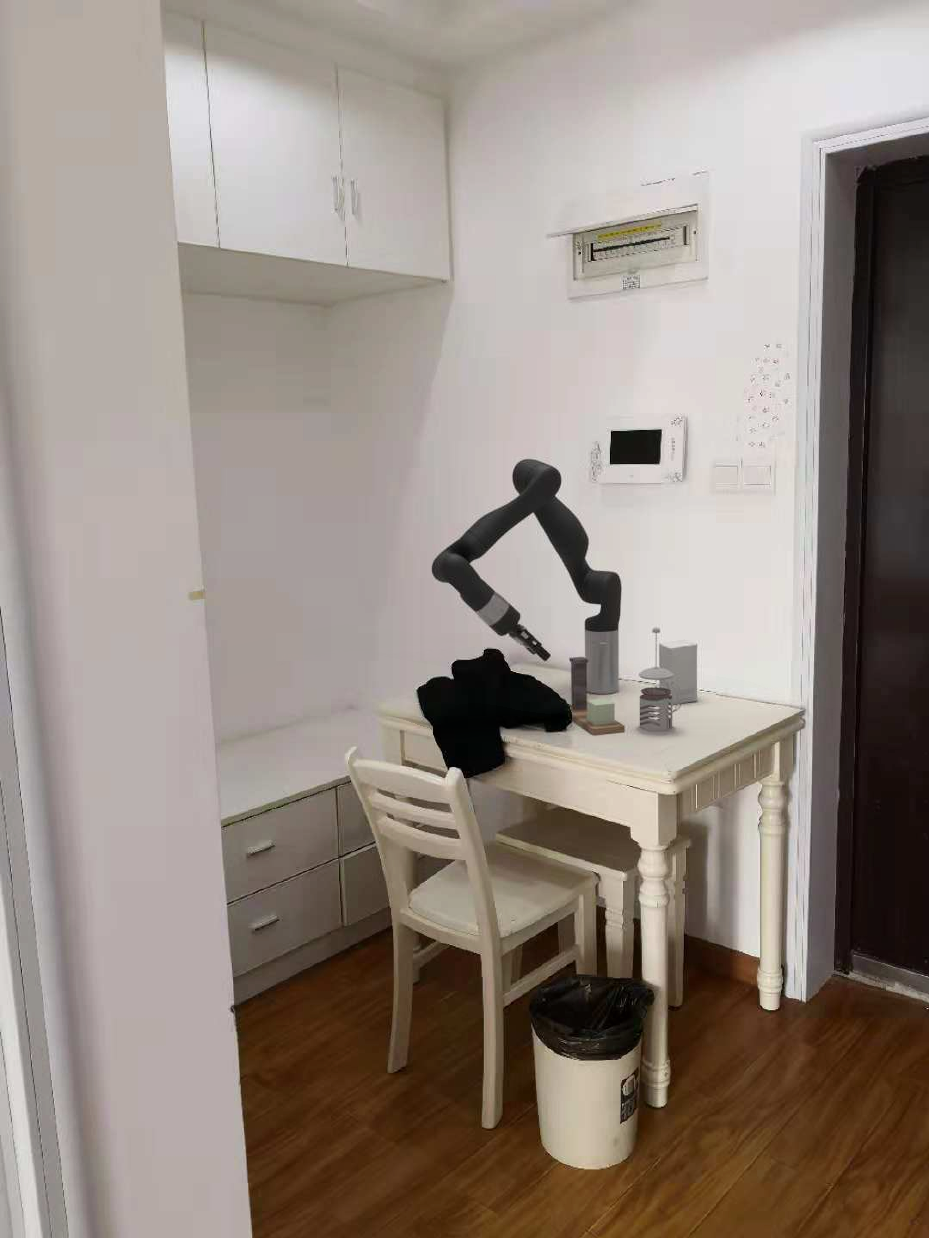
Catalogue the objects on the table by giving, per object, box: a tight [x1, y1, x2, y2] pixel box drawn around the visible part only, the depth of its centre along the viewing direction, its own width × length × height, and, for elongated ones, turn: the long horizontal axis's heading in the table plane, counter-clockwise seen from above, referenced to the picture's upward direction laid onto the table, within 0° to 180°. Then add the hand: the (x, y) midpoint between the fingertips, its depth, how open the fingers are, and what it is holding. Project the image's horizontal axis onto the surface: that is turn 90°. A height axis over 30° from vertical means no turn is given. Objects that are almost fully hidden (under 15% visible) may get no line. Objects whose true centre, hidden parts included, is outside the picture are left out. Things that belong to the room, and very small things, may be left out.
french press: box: [635, 626, 683, 736], centre depth 247 cm, size 10×12×25 cm
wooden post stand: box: [568, 656, 626, 736], centre depth 257 cm, size 22×8×14 cm, turn 15°
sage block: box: [587, 698, 616, 726], centre depth 252 cm, size 5×5×5 cm
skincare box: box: [658, 639, 698, 706], centre depth 275 cm, size 8×7×16 cm
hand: (542, 655), depth 260 cm, fingers open, 8 cm apart
